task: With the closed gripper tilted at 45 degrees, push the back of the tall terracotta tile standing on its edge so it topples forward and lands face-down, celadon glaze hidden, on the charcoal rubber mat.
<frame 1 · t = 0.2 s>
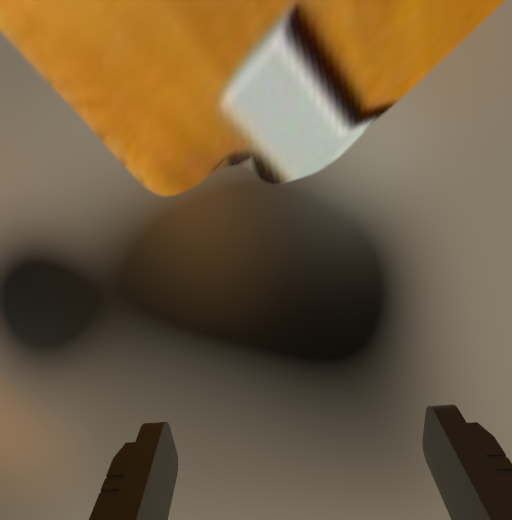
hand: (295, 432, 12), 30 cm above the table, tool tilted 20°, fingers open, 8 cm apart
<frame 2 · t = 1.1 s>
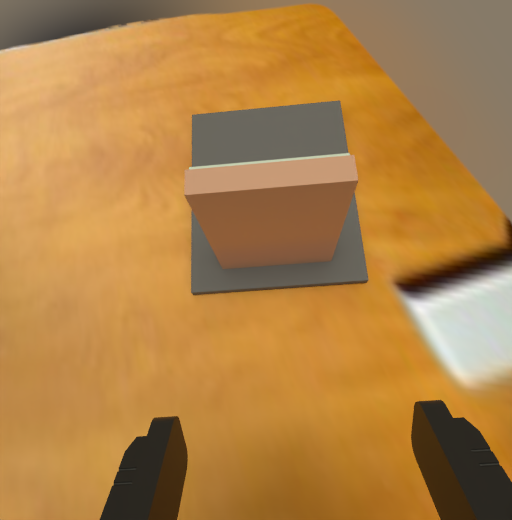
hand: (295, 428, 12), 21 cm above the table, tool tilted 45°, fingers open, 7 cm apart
charcoal mat: (271, 193, 38), on the table
terracotta tile: (275, 255, 35), point 1 cm above the table, touching charcoal mat
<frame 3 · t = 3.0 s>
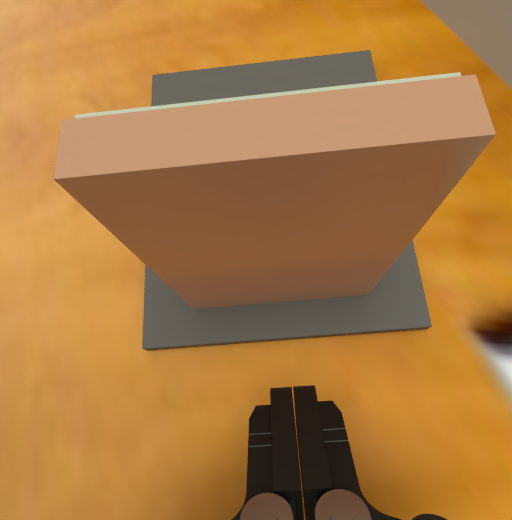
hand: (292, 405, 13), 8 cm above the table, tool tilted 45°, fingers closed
charcoal mat: (270, 187, 25), on the table
terracotta tile: (278, 285, 22), point 1 cm above the table, touching charcoal mat
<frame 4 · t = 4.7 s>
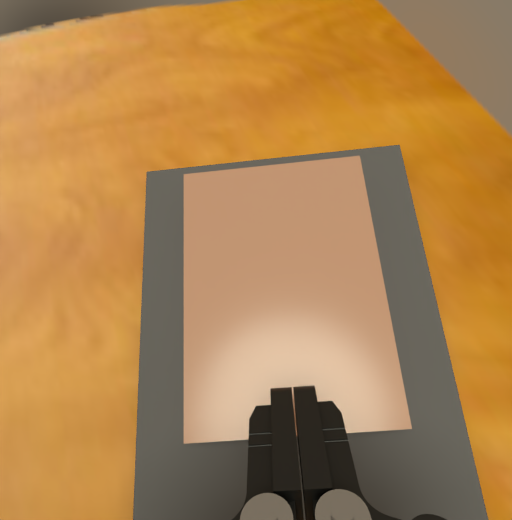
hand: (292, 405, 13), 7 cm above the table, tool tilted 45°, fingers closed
charcoal mat: (285, 317, 21), on the table
terracotta tile: (295, 434, 18), point 2 cm above the table, tilted 90°, touching charcoal mat
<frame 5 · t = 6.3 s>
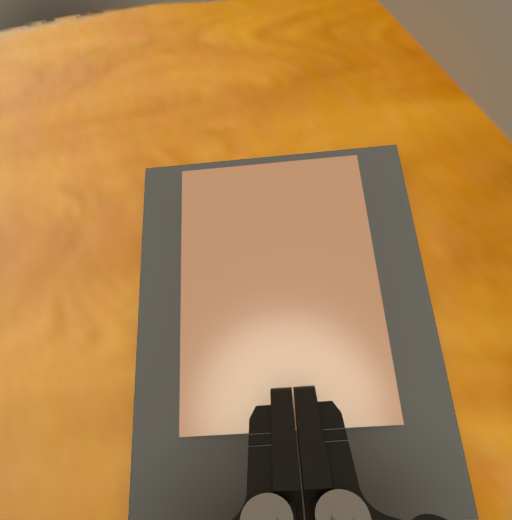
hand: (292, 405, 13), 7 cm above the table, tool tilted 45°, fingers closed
charcoal mat: (281, 314, 22), on the table
terracotta tile: (289, 429, 18), point 2 cm above the table, tilted 90°, touching charcoal mat
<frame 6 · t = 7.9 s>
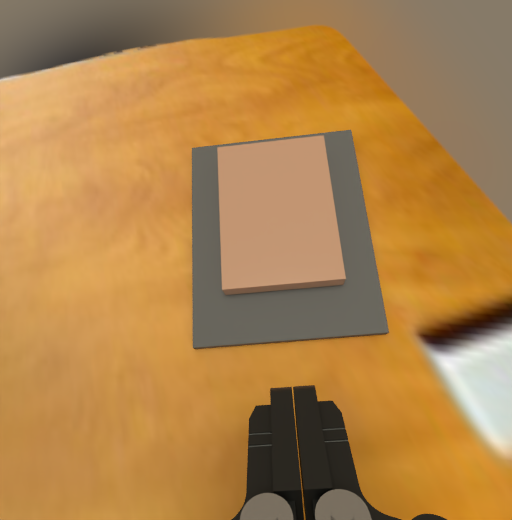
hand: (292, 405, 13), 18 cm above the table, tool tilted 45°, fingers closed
charcoal mat: (279, 232, 35), on the table
terracotta tile: (283, 287, 32), point 2 cm above the table, tilted 90°, touching charcoal mat
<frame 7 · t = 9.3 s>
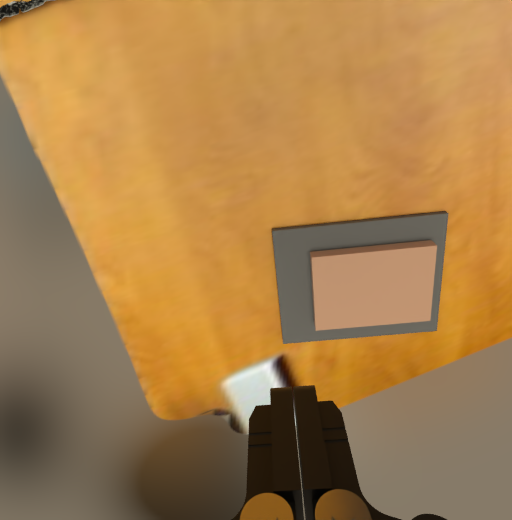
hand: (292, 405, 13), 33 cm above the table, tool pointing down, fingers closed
charcoal mat: (357, 280, 48), on the table
terracotta tile: (312, 291, 46), point 2 cm above the table, tilted 90°, touching charcoal mat
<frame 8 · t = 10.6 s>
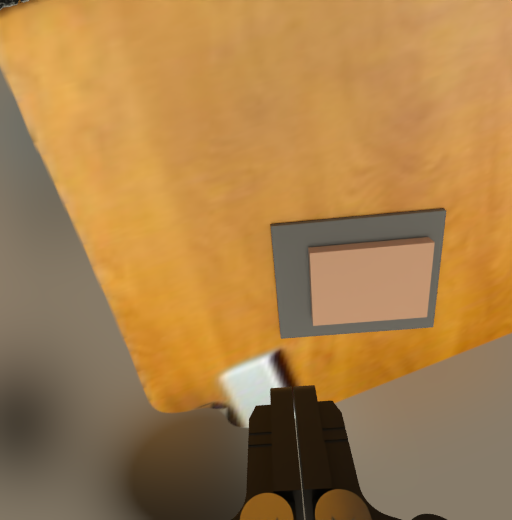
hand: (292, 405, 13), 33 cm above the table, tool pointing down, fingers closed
charcoal mat: (355, 276, 48), on the table
terracotta tile: (310, 287, 46), point 2 cm above the table, tilted 90°, touching charcoal mat
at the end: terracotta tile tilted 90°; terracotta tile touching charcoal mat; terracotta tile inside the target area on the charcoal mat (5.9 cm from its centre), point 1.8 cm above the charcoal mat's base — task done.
